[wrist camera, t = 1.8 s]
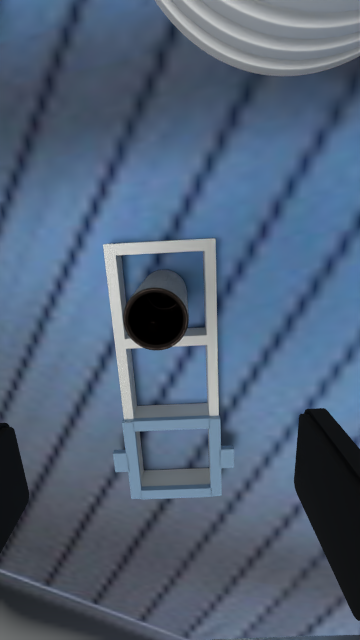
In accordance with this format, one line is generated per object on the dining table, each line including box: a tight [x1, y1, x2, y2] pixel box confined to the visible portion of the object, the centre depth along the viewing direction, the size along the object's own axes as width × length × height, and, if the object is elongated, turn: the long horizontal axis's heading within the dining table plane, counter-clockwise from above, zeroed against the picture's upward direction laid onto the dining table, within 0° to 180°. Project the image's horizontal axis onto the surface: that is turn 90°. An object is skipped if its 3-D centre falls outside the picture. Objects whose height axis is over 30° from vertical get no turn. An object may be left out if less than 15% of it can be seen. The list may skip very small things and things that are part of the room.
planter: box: [123, 270, 189, 350], centre depth 25 cm, size 4×4×10 cm
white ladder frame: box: [103, 238, 234, 499], centre depth 31 cm, size 13×28×3 cm, turn 3°
